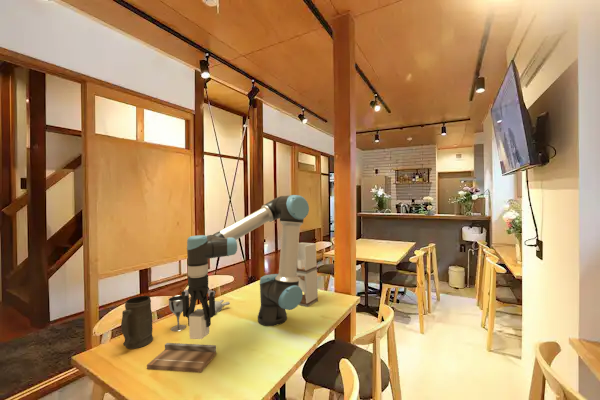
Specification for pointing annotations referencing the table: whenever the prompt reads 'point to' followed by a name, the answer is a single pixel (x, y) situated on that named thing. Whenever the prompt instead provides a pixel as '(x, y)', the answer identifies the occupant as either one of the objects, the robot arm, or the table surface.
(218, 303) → the bunny figurine
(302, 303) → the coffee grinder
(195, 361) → the board
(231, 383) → the table surface
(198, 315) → the block
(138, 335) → the beer stein
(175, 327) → the wine glass
